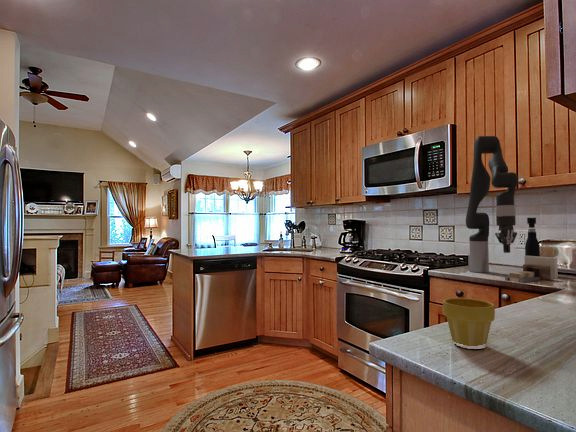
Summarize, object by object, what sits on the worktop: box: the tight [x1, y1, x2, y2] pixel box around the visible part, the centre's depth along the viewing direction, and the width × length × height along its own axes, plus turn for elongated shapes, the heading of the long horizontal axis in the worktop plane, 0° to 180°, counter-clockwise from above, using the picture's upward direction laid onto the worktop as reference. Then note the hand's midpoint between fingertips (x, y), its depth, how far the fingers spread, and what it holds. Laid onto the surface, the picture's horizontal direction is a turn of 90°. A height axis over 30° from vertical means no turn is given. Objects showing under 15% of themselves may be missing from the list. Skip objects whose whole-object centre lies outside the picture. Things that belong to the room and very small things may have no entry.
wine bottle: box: [524, 217, 541, 257], centre depth 179 cm, size 6×6×30 cm
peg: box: [509, 271, 534, 283], centre depth 160 cm, size 12×4×4 cm, turn 114°
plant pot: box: [442, 297, 496, 346], centre depth 77 cm, size 10×10×10 cm
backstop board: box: [523, 255, 559, 280], centre depth 170 cm, size 14×2×10 cm, turn 24°
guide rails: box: [504, 275, 541, 284], centre depth 160 cm, size 8×14×2 cm, turn 114°
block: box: [522, 263, 552, 281], centre depth 165 cm, size 9×6×6 cm, turn 24°
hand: (506, 252), depth 156 cm, fingers closed
